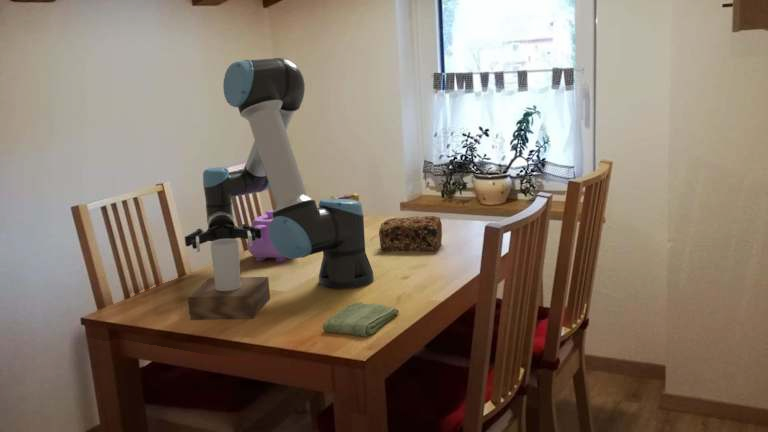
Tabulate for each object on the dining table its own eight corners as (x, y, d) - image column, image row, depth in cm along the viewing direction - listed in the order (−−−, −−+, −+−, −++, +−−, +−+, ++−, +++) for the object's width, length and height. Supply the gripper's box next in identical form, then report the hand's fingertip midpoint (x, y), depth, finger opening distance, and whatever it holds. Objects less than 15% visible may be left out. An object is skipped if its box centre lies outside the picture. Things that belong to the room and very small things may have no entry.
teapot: (294, 268, 239) (290, 219, 236) (235, 266, 246) (230, 218, 243) (320, 251, 257) (317, 205, 254) (264, 249, 264) (260, 205, 261)
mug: (233, 292, 198) (229, 245, 196) (209, 291, 200) (205, 244, 198) (252, 281, 207) (248, 235, 205) (229, 279, 210) (225, 235, 207)
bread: (443, 243, 258) (441, 213, 256) (437, 252, 248) (436, 221, 246) (386, 243, 262) (385, 214, 260) (379, 252, 252) (377, 221, 250)
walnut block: (270, 298, 212) (268, 276, 210) (252, 319, 196) (250, 295, 195) (211, 299, 214) (209, 277, 213) (190, 320, 198) (187, 297, 197)
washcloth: (401, 314, 194) (401, 302, 194) (369, 340, 179) (368, 326, 178) (353, 310, 200) (352, 297, 199) (318, 334, 184) (317, 321, 184)
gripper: (266, 235, 234) (273, 252, 214) (178, 244, 229) (177, 263, 208) (264, 209, 232) (271, 224, 212) (175, 219, 227) (174, 235, 207)
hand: (224, 244), depth 210 cm, fingers open, 13 cm apart
